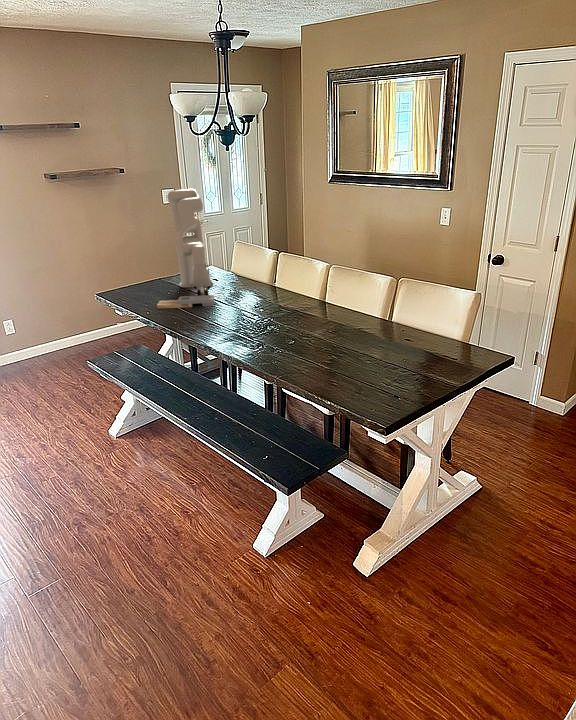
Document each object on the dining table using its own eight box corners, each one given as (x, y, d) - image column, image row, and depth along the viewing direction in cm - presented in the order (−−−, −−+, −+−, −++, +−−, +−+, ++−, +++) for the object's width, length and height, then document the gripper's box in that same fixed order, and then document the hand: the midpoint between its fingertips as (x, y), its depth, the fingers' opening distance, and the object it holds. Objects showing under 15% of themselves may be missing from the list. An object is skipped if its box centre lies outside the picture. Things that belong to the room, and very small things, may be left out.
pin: (201, 298, 324) (199, 284, 320) (206, 298, 324) (204, 283, 320) (200, 300, 321) (198, 285, 317) (205, 300, 321) (204, 285, 317)
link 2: (180, 303, 318) (179, 296, 316) (214, 301, 318) (213, 295, 316) (178, 307, 311) (177, 301, 309) (213, 306, 311) (212, 299, 309)
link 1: (159, 304, 318) (159, 300, 317) (194, 302, 318) (193, 299, 317) (157, 308, 311) (156, 305, 310) (192, 307, 311) (191, 303, 310)
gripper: (214, 264, 318) (217, 294, 325) (186, 265, 318) (190, 295, 325) (213, 267, 311) (216, 298, 319) (184, 269, 311) (188, 299, 318)
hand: (203, 296), depth 322 cm, fingers open, 3 cm apart
